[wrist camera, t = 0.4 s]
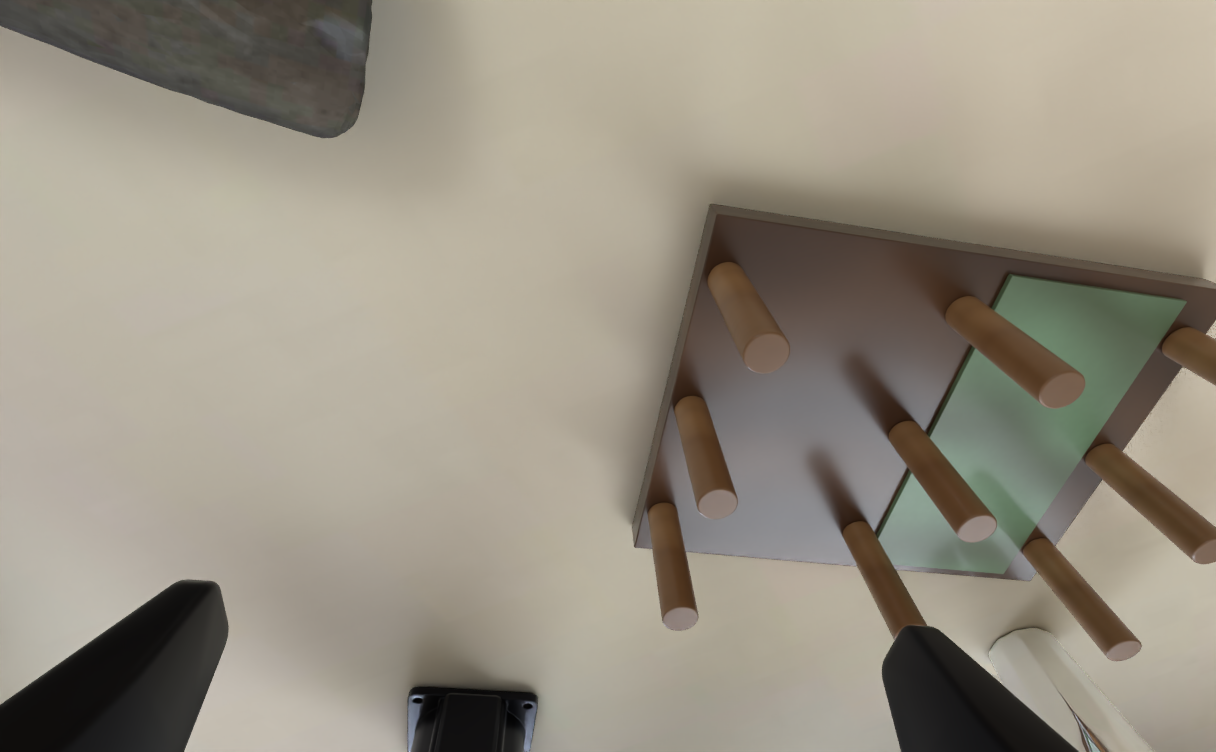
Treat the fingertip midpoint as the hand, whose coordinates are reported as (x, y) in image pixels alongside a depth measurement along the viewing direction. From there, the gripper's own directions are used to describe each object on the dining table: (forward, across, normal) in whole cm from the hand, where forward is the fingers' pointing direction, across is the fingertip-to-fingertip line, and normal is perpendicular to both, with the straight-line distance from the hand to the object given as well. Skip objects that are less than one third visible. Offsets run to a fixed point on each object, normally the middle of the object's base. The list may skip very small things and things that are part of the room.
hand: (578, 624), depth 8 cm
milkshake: (+15, -25, +18) cm, 34 cm away
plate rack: (+14, -13, +5) cm, 20 cm away
